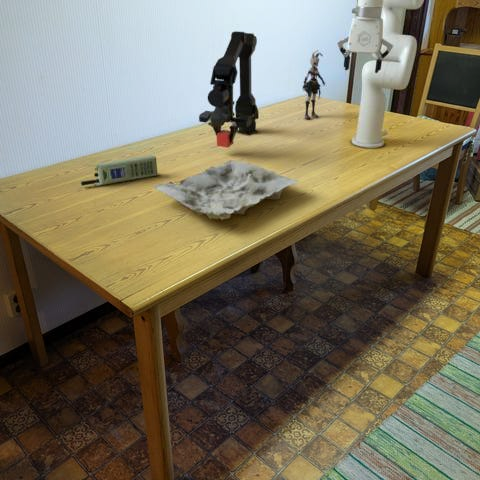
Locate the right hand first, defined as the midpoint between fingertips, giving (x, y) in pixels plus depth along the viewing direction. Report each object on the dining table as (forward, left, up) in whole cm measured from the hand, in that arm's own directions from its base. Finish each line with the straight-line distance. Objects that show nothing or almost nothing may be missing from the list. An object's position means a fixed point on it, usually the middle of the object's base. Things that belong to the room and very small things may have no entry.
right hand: (361, 70), depth 164 cm
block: (+28, -36, -29) cm, 54 cm away
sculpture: (+52, -3, -33) cm, 62 cm away
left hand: (+28, -36, -28) cm, 54 cm away
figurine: (-33, -53, -33) cm, 71 cm away
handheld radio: (+71, -36, -33) cm, 86 cm away
